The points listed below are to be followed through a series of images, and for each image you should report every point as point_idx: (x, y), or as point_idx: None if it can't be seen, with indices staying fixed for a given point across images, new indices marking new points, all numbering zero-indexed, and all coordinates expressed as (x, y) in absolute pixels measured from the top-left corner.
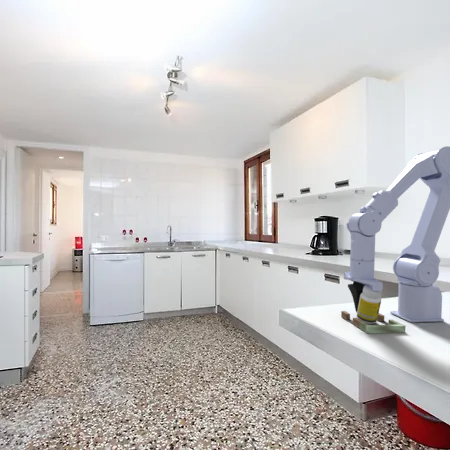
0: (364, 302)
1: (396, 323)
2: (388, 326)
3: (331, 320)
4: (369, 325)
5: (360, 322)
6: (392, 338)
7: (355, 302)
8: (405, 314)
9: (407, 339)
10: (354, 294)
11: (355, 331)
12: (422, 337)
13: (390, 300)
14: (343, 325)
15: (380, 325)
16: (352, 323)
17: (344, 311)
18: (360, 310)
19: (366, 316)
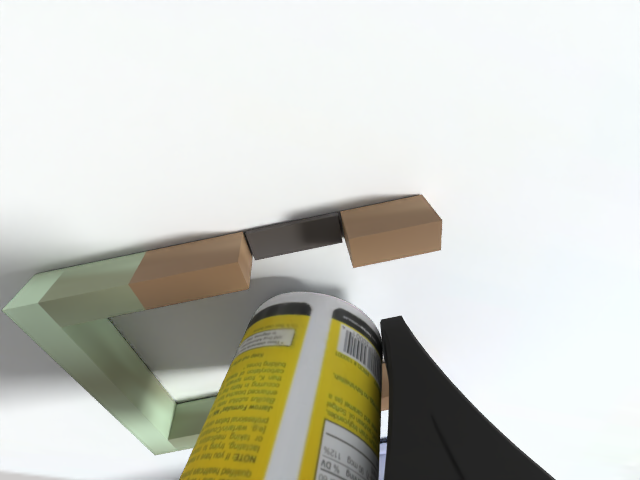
0: (201, 475)
1: (185, 436)
2: (102, 403)
3: (319, 68)
4: (52, 323)
5: (114, 285)
6: (23, 363)
7: (412, 386)
8: None
9: (51, 407)
10: (443, 478)
11: (45, 204)
12: (120, 447)
13: (627, 453)
14: (182, 148)
15: (98, 376)
16: (247, 232)
17: (427, 242)
18: (264, 361)
19: (236, 353)
